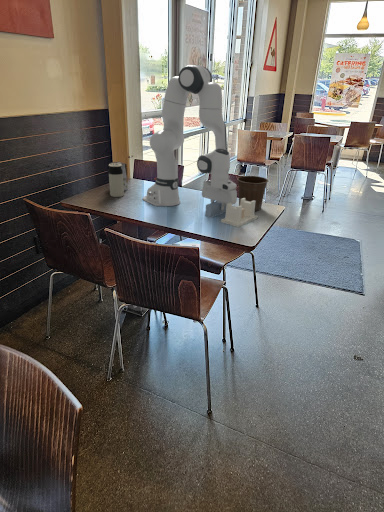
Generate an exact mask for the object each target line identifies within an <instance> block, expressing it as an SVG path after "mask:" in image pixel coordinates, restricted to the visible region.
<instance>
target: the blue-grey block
mask: <svg viewBox="0 0 384 512" xmlns="http://www.w3.org/2000/svg"><path fill="white" fill-rule="evenodd" d="M226 205H227V204H226ZM226 205H225V206H224V210H223V211H221V210H220V207H221V206H222V202H219V201H214V202H213V203H211V202H210V203H207V204H205V215H204V216H205V217H207V218H210V219H211V218H214V217H216V216H219V215H221V214H223V213H225V214H226Z"/></svg>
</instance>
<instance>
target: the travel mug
mask: <svg viewBox="0 0 384 512" xmlns="http://www.w3.org/2000/svg"><path fill="white" fill-rule="evenodd" d="M121 166H122V164H118V163H113V164H111V163H109V164H108V167H109V168H108V170H107V171H108V182H109V195H110V196H111V197H113V198H121V197H123V196H124V195H125V190H124V186H123V170H122V168H121Z"/></svg>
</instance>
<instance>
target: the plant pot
mask: <svg viewBox="0 0 384 512" xmlns="http://www.w3.org/2000/svg"><path fill="white" fill-rule="evenodd" d="M236 180H237V185H238V187H237V188H238V206H240V200H241V199H242V198H246V199H245V201H249V202H251V201H254V200H255V201H256V202H255V211H254V212H257V211H261V210H262V206H263V205H262V204H263V200H264V195H265V192H266V191H265V190H266V189H267V184H268V182H269V180H268V179H267V178H265V177H262V176H257V175H244V176H243V175H242V176H238V177H237V179H236Z"/></svg>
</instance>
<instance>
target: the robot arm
mask: <svg viewBox="0 0 384 512" xmlns="http://www.w3.org/2000/svg"><path fill="white" fill-rule="evenodd" d="M190 93H191V94H193V95H197V96H198V98H199V105H198V106H199V108H198V119H199V121H200V123H201V124H202V126H203V127H204V128H206V129H208V130H210V131H211V132H213V134H214V138H215V139H214V141H215V149H214V150H213V151H211V152H208V153H205V154H201V155H199V157H198V158H197V160H196V166H197V169H198V171H199V172H200V173H201V174H210V175H211V177H210V179H209V180H208V179H205V180H204V181H203V182H202V183H203V184H202V190H201V197H202V198H203V199H204V198H205V199H208V200H210V203H213V202H216V201H219V202H222V206H221V207H220V210H221V211H223V210H224V206H225V205H226V204H228V203H232V206H234V205H236V203H237V202H238V200H237V198H238V191H237V188H238V187H237V185H238V184H237V183H235V182H233V181H232V180H231V179H229V178H230V176H229V171H230V167H231V166H230V165H231V155H230V152H229V151H228V141H227V140H228V138H227V128H226V127H227V126H226V122H225V121H224V117H223V91H222V87H221V85H220V84H218V83H216V82H214V81H213V75H212V73H211V71H210V70H209V69H208V68H207V67H205V66H202V65H199V64H195V65H192V64H188V65H185V66H184V67H182V68H181V69H180V71H179V73H178V76H172V77H171V78H170V79H169V80H168V83H167V86H166V90H165V94H164V98H163V102H162V103H163V104H162V110H161V118H162V119H163V129H162V130H158V131H156V132H154V133H153V134H152V135H151V136H150V138H149V147H150V148H151V150H152V151H153V152H154V155H155V160H156V168H157V170H156V173H157V176H156V177H155V178H153V181H154V184H152V185H151V186H149V187H148V189H147V190H146V195H145V196H143V197H142V200H143V201H145V202H147V203H148V204H151V205H153V206H155V207H163V206H164V207H171V206H177V205H178V206H179V204H181V200H180V194H179V193H180V192H179V181H180V180H179V177H178V176H179V174H178V171H179V170H178V169H179V168H178V166H179V164H178V161H177V160H176V157H175V150H178V149H179V148H181V146H182V145H183V144H184V141H185V136H184V135H185V134H184V132H183V130H184V127H183V126H184V125H183V124H184V123H183V122H184V116H185V111H186V107H187V101H188V96H189V95H190Z"/></svg>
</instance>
